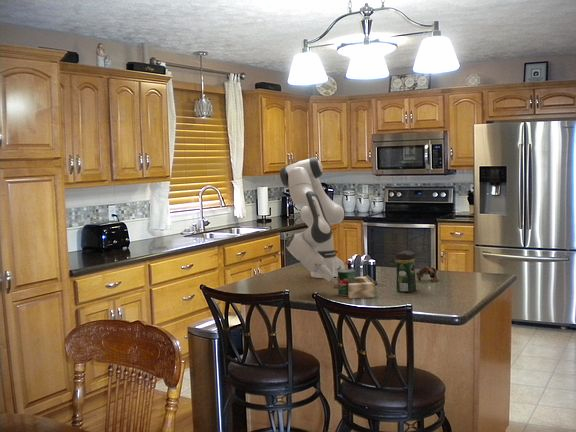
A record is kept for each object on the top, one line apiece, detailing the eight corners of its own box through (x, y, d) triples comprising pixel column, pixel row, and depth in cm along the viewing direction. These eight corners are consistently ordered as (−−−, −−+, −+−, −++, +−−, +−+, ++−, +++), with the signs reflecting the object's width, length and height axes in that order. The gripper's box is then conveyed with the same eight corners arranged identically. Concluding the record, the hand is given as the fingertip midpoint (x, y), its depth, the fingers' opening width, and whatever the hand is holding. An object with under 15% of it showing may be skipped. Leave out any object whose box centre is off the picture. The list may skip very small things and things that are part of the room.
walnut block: (337, 286, 304) (337, 278, 304) (346, 286, 302) (346, 278, 302) (333, 288, 300) (333, 280, 299) (343, 288, 298) (343, 280, 297)
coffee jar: (402, 288, 291) (401, 249, 290) (418, 289, 287) (417, 249, 285) (393, 292, 284) (392, 251, 282) (409, 293, 279) (408, 252, 278)
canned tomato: (336, 295, 281) (335, 271, 280) (340, 292, 288) (339, 268, 287) (353, 296, 278) (352, 272, 277) (357, 292, 286) (356, 269, 285)
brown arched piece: (434, 284, 300) (425, 270, 301) (419, 290, 307) (410, 276, 307) (444, 274, 309) (435, 260, 309) (430, 280, 315) (421, 267, 316)
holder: (349, 298, 274) (349, 283, 273) (343, 290, 293) (343, 276, 292) (375, 297, 274) (374, 281, 274) (367, 288, 293) (367, 274, 293)
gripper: (321, 260, 271) (344, 282, 272) (317, 254, 291) (338, 274, 292) (312, 271, 271) (334, 292, 272) (308, 264, 291) (329, 284, 293)
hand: (336, 283), depth 282 cm, fingers closed, pressing on canned tomato
